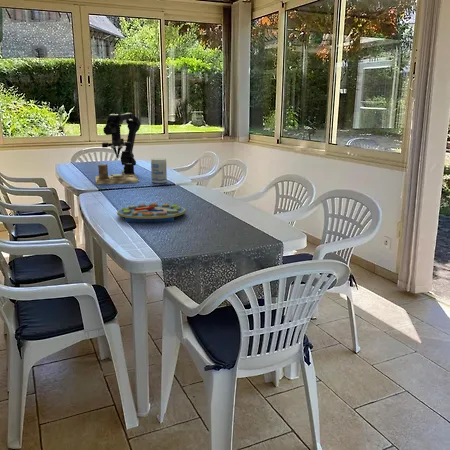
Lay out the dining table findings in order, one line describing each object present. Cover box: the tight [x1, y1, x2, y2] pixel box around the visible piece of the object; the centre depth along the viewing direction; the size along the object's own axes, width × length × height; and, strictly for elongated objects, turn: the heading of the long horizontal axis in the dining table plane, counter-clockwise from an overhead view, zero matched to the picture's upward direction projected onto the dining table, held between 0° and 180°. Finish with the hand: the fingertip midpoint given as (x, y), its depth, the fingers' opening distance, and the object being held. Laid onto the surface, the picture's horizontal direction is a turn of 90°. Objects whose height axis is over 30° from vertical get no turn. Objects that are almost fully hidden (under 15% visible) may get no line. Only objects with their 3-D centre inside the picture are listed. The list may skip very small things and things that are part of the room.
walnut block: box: [97, 163, 109, 179], centre depth 277 cm, size 4×4×10 cm
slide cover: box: [112, 169, 125, 176], centre depth 291 cm, size 7×7×3 cm
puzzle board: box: [95, 173, 139, 186], centre depth 285 cm, size 26×22×3 cm
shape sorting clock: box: [116, 202, 186, 223], centre depth 201 cm, size 31×30×6 cm
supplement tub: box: [150, 157, 168, 184], centre depth 279 cm, size 10×10×15 cm
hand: (117, 157), depth 293 cm, fingers closed
